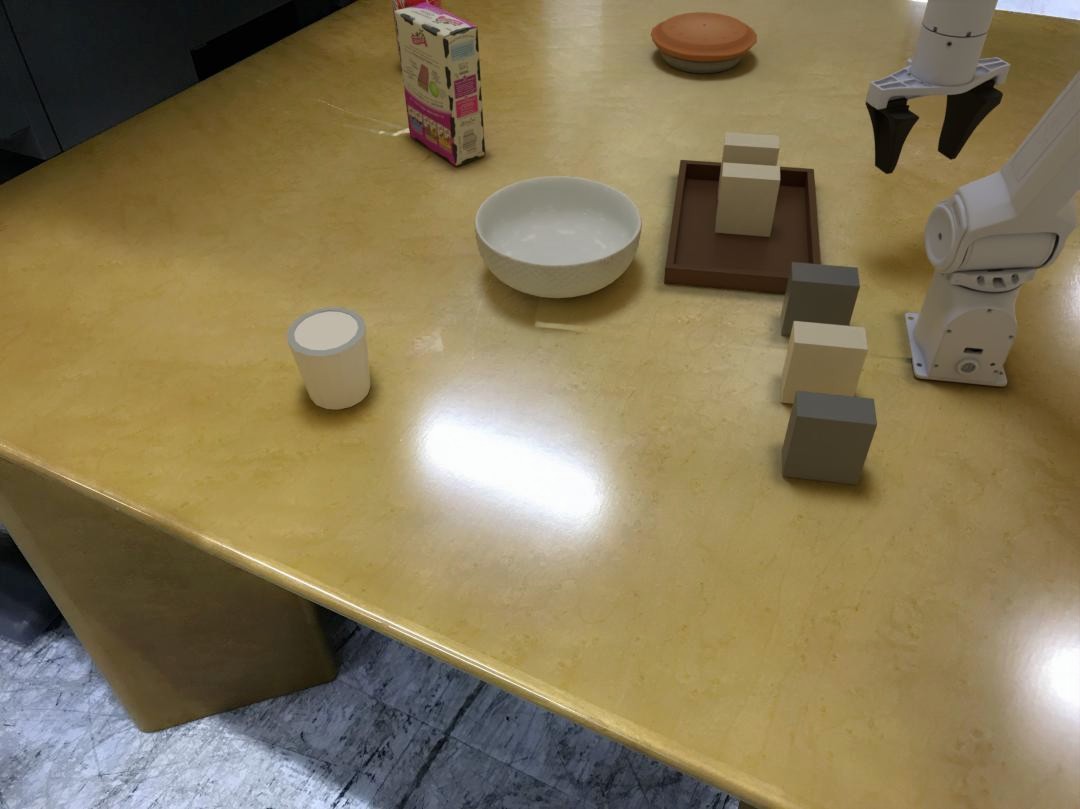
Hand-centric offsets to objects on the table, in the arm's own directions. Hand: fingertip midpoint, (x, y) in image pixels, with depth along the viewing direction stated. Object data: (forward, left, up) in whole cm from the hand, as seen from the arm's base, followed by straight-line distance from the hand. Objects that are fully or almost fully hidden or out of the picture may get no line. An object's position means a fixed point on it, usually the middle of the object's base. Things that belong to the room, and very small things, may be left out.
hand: (915, 162), depth 91 cm
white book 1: (+8, +16, -10) cm, 20 cm away
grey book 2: (-34, +9, -10) cm, 37 cm away
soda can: (+40, +64, -10) cm, 76 cm away
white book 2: (+1, +16, -10) cm, 19 cm away
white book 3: (-25, +9, -10) cm, 29 cm away
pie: (+48, +23, -10) cm, 54 cm away
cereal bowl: (-10, +35, -10) cm, 38 cm away
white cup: (-31, +52, -10) cm, 62 cm away
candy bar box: (+16, +54, -10) cm, 57 cm away
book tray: (0, +16, -10) cm, 19 cm away
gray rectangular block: (-16, +9, -10) cm, 21 cm away
